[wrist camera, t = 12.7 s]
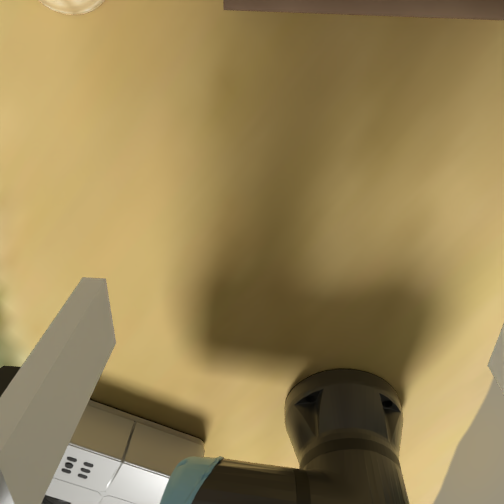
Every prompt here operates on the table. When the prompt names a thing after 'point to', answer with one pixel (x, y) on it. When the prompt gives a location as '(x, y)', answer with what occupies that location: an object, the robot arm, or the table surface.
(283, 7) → the socket block
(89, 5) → the hand bell
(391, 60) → the table surface
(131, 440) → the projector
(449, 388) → the table surface
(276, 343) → the table surface
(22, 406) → the robot arm
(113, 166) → the table surface
